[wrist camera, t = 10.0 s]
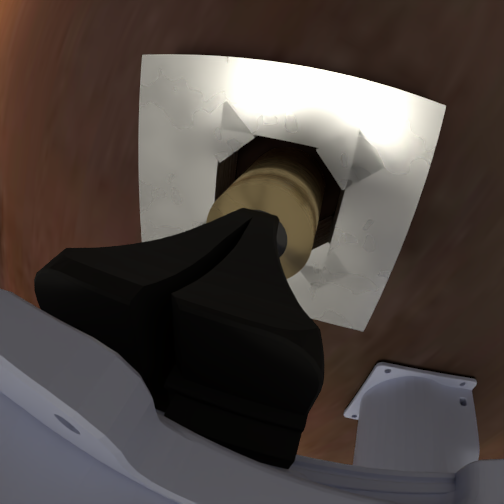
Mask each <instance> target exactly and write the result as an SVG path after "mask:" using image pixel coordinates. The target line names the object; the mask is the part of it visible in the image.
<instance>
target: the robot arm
mask: <svg viewBox="0 0 504 504" xmlns="http://www.w3.org/2000/svg"><path fill="white" fill-rule="evenodd" d="M279 220H280V219H279V218H278V216H276V215H272V214H268V213H264V212H260V211H255V210H251V209H247V208H241V209H238V210H236V211H233V212H231V213H229V214H227V215H224V216H222V217H220V218H218V219H215V220H213V221H211V222H208V223H206V224H203V225H201V226H198V227H195V228H193V229H190V230H188V231H185V232H182V233H179V234H176V235H172V236H168V237H165V238H161V239H157V240H151V241H146V242H141V243H136V244H130V245H122V246H112V247H100V248H66V249H64V250H63V251H62V252H61V253H60V254H58V255H57V256H56V257H55V258H54V259H52V260H51V261H50V262H49V263H48V264H47V265H45V266H44V267H43V268H42V269H41V270H40V271H38V272H37V274H36V277H35V279H34V283H35V293H36V297H37V301H38V303H39V306H40V308H41V309H39V308H37V307H36V306H34V305H32V304H30V303H29V302H27V301H25V300H24V299H22V298H21V297H19V296H17V295H16V294H14V293H12V292H10V291H6V290H3V289H0V504H504V459H490V460H478V458H479V437H478V429H477V421H476V414H475V407H474V401H473V395H472V389H473V388H474V387H475V386H476V385H477V381H476V379H474V378H467V377H461V376H455V375H449V374H443V373H437V372H432V371H426V370H421V369H416V368H410V367H405V366H400V365H395V364H391V363H386V362H379V363H377V364H376V365H375V367H374V369H373V370H372V372H371V373H370V375H369V376H368V378H367V379H366V381H365V382H364V384H363V385H362V387H361V388H360V390H359V391H358V393H357V394H356V395H355V397H354V398H353V400H352V401H351V403H350V404H349V405H348V407H347V408H346V410H345V411H344V416H345V417H347V418H352V419H357V420H358V428H357V437H356V445H355V453H354V460H353V465H348V464H342V463H336V462H330V461H325V460H319V459H314V458H309V457H305V456H300V455H296V454H297V450H298V446H299V441H300V437H301V433H302V432H303V430H304V428H305V425H306V420H307V416H308V413H309V411H310V409H311V407H312V406H313V404H314V402H315V400H316V399H317V397H318V395H319V393H320V391H321V388H322V385H323V380H324V353H323V345H322V338H321V333H320V329H319V328H318V326H317V325H316V324H315V323H314V322H313V320H312V319H311V318H310V317H309V316H308V315H307V314H306V312H305V311H304V310H303V309H302V307H301V306H300V304H299V303H298V301H297V299H296V297H295V295H294V293H293V292H292V290H291V288H290V286H289V284H288V282H287V279H286V277H285V274H284V271H283V268H282V265H281V262H280V258H279V253H278V247H277V238H276V236H277V231H278V225H279Z"/></svg>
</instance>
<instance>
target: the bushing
mask: <svg viewBox="0 0 504 504" xmlns="http://www.w3.org/2000/svg"><path fill="white" fill-rule="evenodd" d="M324 193H325V178H324V174H323V171H322V169H321V167H320V166H319V164H318V163H317V161H316V160H315V159H314V158H313V157H311V156H310V155H309V154H307V153H306V152H304V151H302V150H300V149H297V148H292V147H278V148H274V149H271V150H269V151H267V152H266V153H264V154H263V155H262V156H260V157H259V158H258V159H257V160H256V161H255V162H254V163H253V164H252V165H251V166H250V167H249V168H248V169H247V170H246V171H245V172H244V173H243V174H242V175H241V176H240V177H239V178H238V179H237V180H236V181H235V182H234V183H233V184H232V185H231V186H230V187H229V188H228V189H227V190H226V191H225V192H224V193H223V194H222V195H221V196H220V197H219V198H218V199H217V200H216V201H215V202H214V204H213V205H212V207H211V209H210V211H209V213H208V216H207V221H206V223H208V222H211V221H213V220H215V219H218V218H220V217H222V216H224V215H227V214H229V213H231V212H233V211H236V210H238V209H241V208H247V209H251V210H255V211H260V212H264V213H268V214H272V215H276V216H278V218H279V219H280V220H279V225H278V231H277V236H276V238H277V247H278V253H279V258H280V262H281V265H282V268H283V271H284V274H285V277H286V279H288V278H290V277H292V276H294V275H295V274H297V273H298V272H299V271H300V270H301V269H302V268H303V267H304V266H305V264H306V263H307V261H308V259H309V257H310V254H311V251H312V246H313V242H314V238H315V234H316V229H317V225H318V220H319V216H320V211H321V207H322V202H323V197H324Z"/></svg>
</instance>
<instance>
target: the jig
mask: <svg viewBox="0 0 504 504" xmlns="http://www.w3.org/2000/svg"><path fill="white" fill-rule="evenodd" d="M445 109H446V106H445V105H443V104H440V103H437V102H435V101H432V100H429V99H426V98H424V97H421V96H418V95H415V94H412V93H409V92H406V91H403V90H400V89H396V88H393V87H390V86H386V85H383V84H379V83H376V82H372V81H368V80H365V79H361V78H357V77H353V76H349V75H344V74H340V73H336V72H331V71H326V70H321V69H316V68H311V67H305V66H300V65H294V64H287V63H281V62H274V61H266V60H258V59H249V58H238V57H226V56H210V55H181V54H158V55H142V65H141V81H140V101H139V197H140V219H141V235H142V242H146V241H151V240H157V239H161V238H165V237H168V236H172V235H176V234H179V233H182V232H185V231H188V230H190V229H193V228H195V227H198V226H201V225H203V224H206V221H207V216H208V213H209V211H210V209H211V207H212V205H213V204H214V202H215V201H216V200H217V199H218V198H219V197H220V196H221V195H222V194H223V193H224V192H225V191H226V190H227V189H228V188H229V187H230V186H231V185H232V184H233V183H234V182H235V177H236V168H237V159H238V150H239V149H240V148H241V147H243V146H244V145H245V144H247V143H248V142H250V141H251V140H252V139H254V138H255V137H257V136H264V137H269V138H274V139H279V140H284V141H289V142H293V143H298V144H303V145H307V146H312V147H316V148H317V149H316V151H317V153H318V154H319V156H320V157H321V159H322V160H323V162H324V163H325V165H326V166H327V168H328V169H329V171H330V172H331V174H332V175H333V177H334V178H335V180H336V182H337V183H338V185H339V186H340V188H341V191H340V195H339V199H338V203H337V207H336V211H335V214H334V217H333V215H331V216H329V217H327V218H325V219H323V220H321V221H320V222H318V225H317V229H316V234H315V238H314V242H313V246H312V251H311V254H310V257H309V259H308V261H307V263H306V264H305V266H304V267H303V268H302V269H301V270H300V271H299V272H298V273H297V274H295V275H294V276H292V277H290V278H288V279H287V282H288V284H289V286H290V288H291V290H292V292H293V293H294V295H295V297H296V299H297V301H298V303H299V304H300V306H301V307H302V309H303V310H304V311H305V312H306V314H307V315H308V316H309V317H310V318H312V319H315V320H319V321H323V322H327V323H331V324H335V325H339V326H343V327H347V328H351V329H355V330H359V331H364V329H365V327H366V325H367V323H368V321H369V319H370V317H371V315H372V313H373V311H374V309H375V307H376V305H377V303H378V300H379V298H380V296H381V294H382V292H383V289H384V287H385V285H386V283H387V281H388V278H389V276H390V274H391V271H392V269H393V267H394V264H395V262H396V259H397V257H398V255H399V252H400V250H401V247H402V245H403V242H404V240H405V237H406V234H407V232H408V229H409V227H410V224H411V221H412V218H413V216H414V213H415V210H416V207H417V204H418V202H419V199H420V196H421V193H422V190H423V187H424V184H425V181H426V177H427V174H428V171H429V168H430V165H431V161H432V158H433V154H434V151H435V147H436V144H437V140H438V136H439V133H440V129H441V125H442V121H443V117H444V113H445Z"/></svg>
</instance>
